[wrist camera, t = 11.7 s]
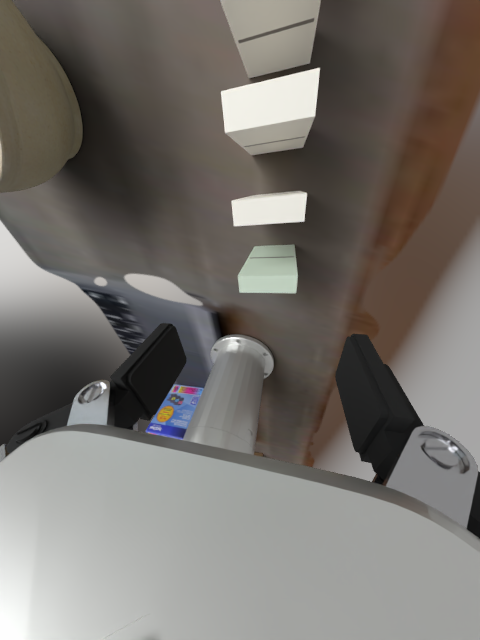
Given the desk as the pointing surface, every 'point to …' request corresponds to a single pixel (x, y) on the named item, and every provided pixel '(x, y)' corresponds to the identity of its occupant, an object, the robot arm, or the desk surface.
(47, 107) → the planter bowl
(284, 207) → the domino
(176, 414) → the ink cartridge box
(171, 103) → the desk surface
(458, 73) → the desk surface
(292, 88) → the domino
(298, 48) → the domino
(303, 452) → the desk surface
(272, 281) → the domino
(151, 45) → the desk surface
